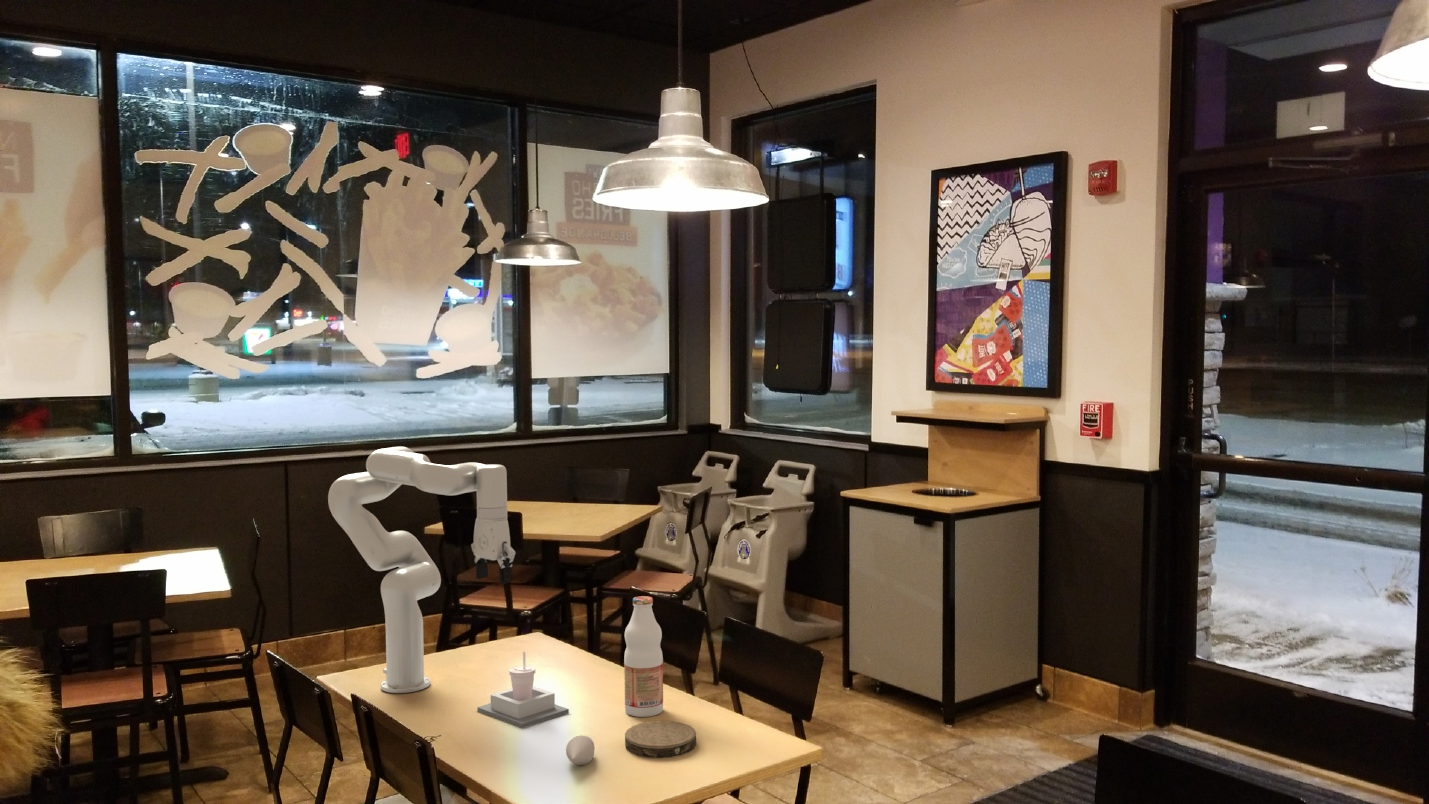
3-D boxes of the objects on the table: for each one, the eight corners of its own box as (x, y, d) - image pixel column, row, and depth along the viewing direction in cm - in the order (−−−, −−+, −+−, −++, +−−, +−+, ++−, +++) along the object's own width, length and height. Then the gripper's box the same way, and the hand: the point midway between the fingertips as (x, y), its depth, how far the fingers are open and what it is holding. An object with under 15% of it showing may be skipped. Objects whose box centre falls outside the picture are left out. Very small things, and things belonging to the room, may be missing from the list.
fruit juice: (616, 713, 261) (615, 599, 260) (641, 702, 269) (640, 592, 268) (646, 720, 256) (645, 604, 254) (671, 709, 263) (669, 596, 262)
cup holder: (477, 711, 263) (477, 693, 263) (523, 697, 274) (523, 680, 274) (522, 728, 251) (522, 709, 251) (568, 713, 262) (568, 694, 261)
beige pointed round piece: (570, 780, 220) (583, 764, 235) (593, 761, 220) (604, 746, 235) (552, 756, 221) (566, 742, 235) (575, 737, 221) (587, 724, 236)
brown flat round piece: (611, 743, 242) (611, 730, 242) (670, 728, 251) (670, 716, 251) (649, 765, 229) (649, 751, 229) (710, 748, 238) (710, 735, 238)
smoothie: (530, 713, 259) (529, 656, 258) (505, 711, 260) (504, 654, 259) (540, 704, 265) (539, 648, 264) (515, 703, 266) (514, 647, 266)
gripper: (459, 512, 274) (461, 578, 275) (500, 518, 263) (501, 587, 263) (484, 508, 280) (485, 573, 281) (525, 515, 268) (526, 582, 269)
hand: (493, 580), depth 272 cm, fingers open, 9 cm apart
